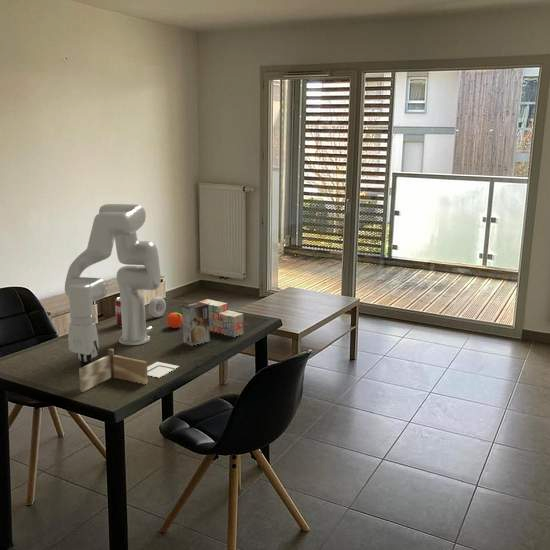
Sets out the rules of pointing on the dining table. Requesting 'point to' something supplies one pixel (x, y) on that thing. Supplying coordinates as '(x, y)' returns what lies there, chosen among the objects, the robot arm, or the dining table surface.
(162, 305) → the donut
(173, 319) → the clementine
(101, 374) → the pale wooden plank
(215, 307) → the stack of blocks
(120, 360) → the wooden hinged panel
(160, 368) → the card
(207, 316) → the coffee box
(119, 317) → the soda can
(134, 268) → the robot arm
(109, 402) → the dining table surface
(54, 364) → the dining table surface
